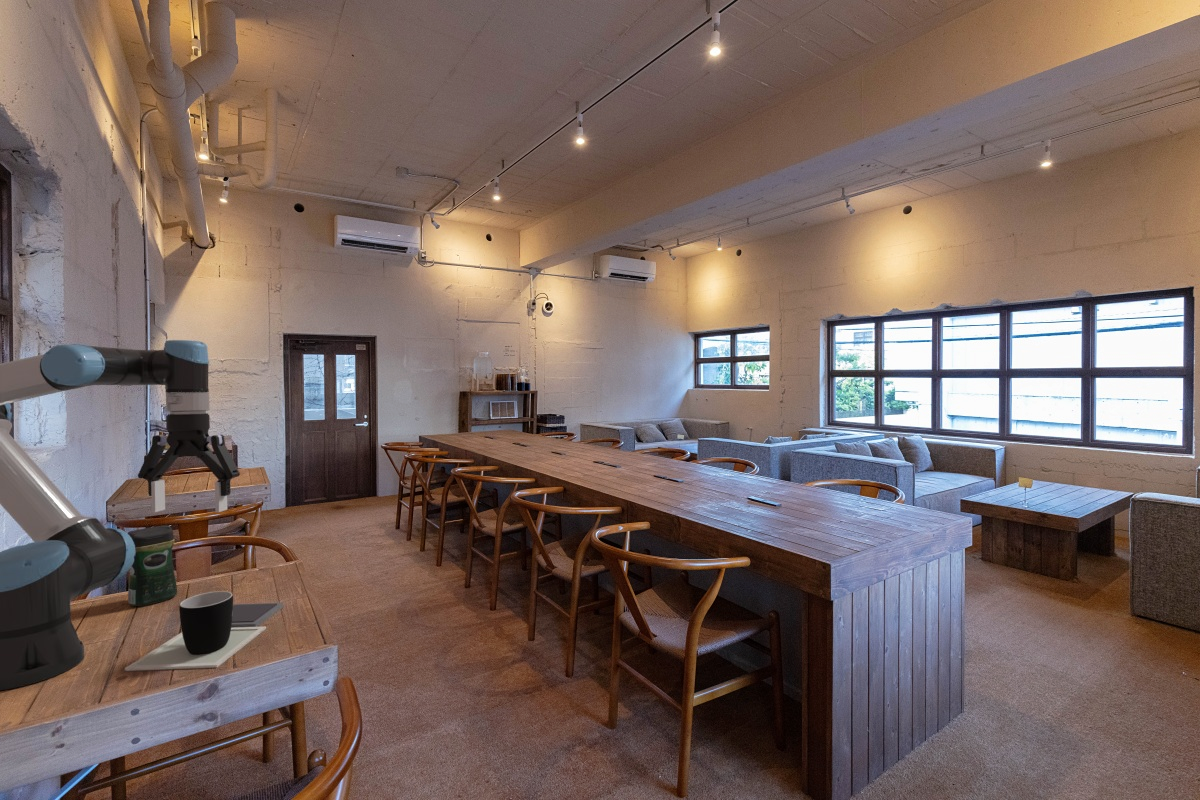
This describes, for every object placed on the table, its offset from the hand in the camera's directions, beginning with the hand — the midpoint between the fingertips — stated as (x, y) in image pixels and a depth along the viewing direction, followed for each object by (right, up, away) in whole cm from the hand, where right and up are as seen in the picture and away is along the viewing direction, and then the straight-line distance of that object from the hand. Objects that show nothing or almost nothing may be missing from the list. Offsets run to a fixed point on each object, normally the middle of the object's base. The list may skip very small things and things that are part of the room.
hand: (190, 511), depth 120 cm
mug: (+7, -27, -5) cm, 28 cm away
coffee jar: (-25, -27, +21) cm, 42 cm away
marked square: (+6, -27, -5) cm, 28 cm away
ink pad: (+6, -27, +10) cm, 29 cm away
